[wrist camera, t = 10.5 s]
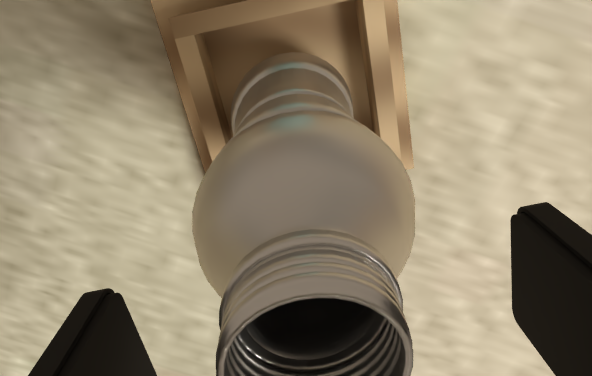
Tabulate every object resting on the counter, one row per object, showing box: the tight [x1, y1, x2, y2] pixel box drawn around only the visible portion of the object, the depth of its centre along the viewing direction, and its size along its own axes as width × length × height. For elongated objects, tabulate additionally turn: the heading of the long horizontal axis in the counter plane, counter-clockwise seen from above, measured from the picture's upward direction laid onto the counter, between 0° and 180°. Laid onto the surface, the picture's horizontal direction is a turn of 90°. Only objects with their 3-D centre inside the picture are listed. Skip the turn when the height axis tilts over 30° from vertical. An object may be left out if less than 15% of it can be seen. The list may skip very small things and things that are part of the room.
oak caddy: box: [150, 0, 414, 173], centre depth 24 cm, size 19×13×4 cm
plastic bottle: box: [192, 52, 415, 376], centre depth 17 cm, size 6×7×20 cm
